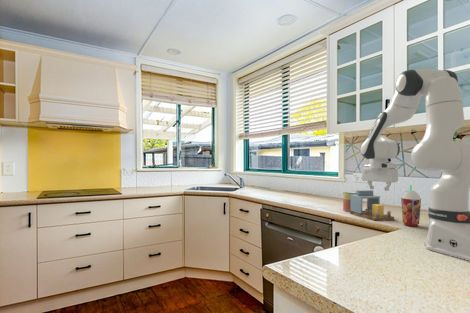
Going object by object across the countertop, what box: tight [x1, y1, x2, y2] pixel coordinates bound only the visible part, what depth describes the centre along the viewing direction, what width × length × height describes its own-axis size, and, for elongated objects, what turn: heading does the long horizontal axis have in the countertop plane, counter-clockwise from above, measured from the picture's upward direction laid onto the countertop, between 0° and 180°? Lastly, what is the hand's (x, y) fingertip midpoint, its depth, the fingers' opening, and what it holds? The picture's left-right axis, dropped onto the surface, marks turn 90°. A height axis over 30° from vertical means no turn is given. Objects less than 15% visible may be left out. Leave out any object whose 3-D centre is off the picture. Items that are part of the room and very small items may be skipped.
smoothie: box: [400, 184, 422, 228], centre depth 132 cm, size 8×8×20 cm
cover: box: [351, 189, 381, 214], centre depth 157 cm, size 9×13×12 cm
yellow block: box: [372, 204, 385, 217], centre depth 147 cm, size 4×4×6 cm
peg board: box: [349, 208, 395, 222], centre depth 152 cm, size 19×13×4 cm
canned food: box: [342, 190, 356, 213], centre depth 169 cm, size 11×11×12 cm
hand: (378, 189), depth 147 cm, fingers open, 8 cm apart
